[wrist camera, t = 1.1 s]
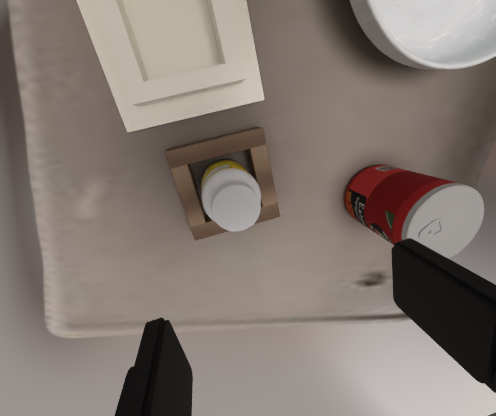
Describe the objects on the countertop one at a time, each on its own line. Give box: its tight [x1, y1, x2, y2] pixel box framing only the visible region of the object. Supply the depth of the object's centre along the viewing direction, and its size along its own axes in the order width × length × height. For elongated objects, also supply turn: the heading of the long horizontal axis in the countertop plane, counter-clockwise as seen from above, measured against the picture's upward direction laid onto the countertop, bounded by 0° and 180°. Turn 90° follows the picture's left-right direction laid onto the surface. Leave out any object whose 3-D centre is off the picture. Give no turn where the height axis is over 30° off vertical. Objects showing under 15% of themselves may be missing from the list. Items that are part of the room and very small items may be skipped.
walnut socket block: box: [165, 127, 280, 240], centre depth 28 cm, size 10×10×2 cm
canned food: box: [345, 165, 484, 258], centre depth 28 cm, size 8×8×11 cm
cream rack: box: [76, 0, 264, 133], centre depth 20 cm, size 14×14×8 cm
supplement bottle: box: [201, 159, 261, 232], centre depth 25 cm, size 5×5×10 cm
